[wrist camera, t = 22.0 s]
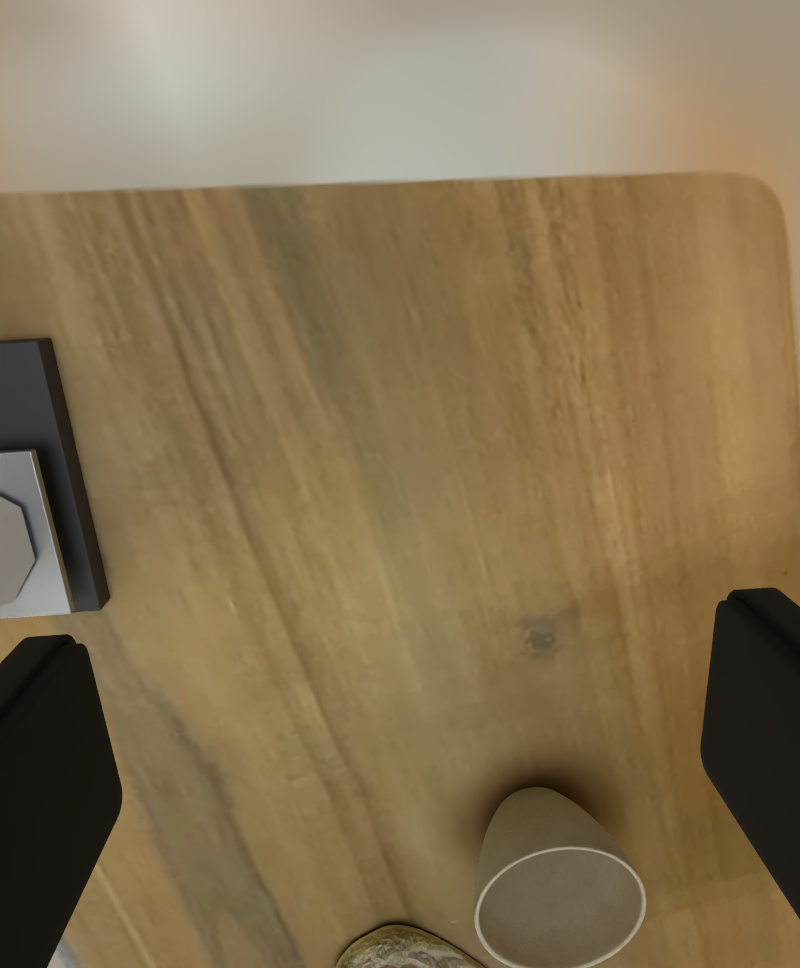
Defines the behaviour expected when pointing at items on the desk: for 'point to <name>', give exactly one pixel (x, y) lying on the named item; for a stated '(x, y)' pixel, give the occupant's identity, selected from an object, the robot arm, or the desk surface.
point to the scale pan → (35, 539)
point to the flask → (13, 551)
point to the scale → (51, 459)
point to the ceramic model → (403, 951)
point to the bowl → (553, 885)
